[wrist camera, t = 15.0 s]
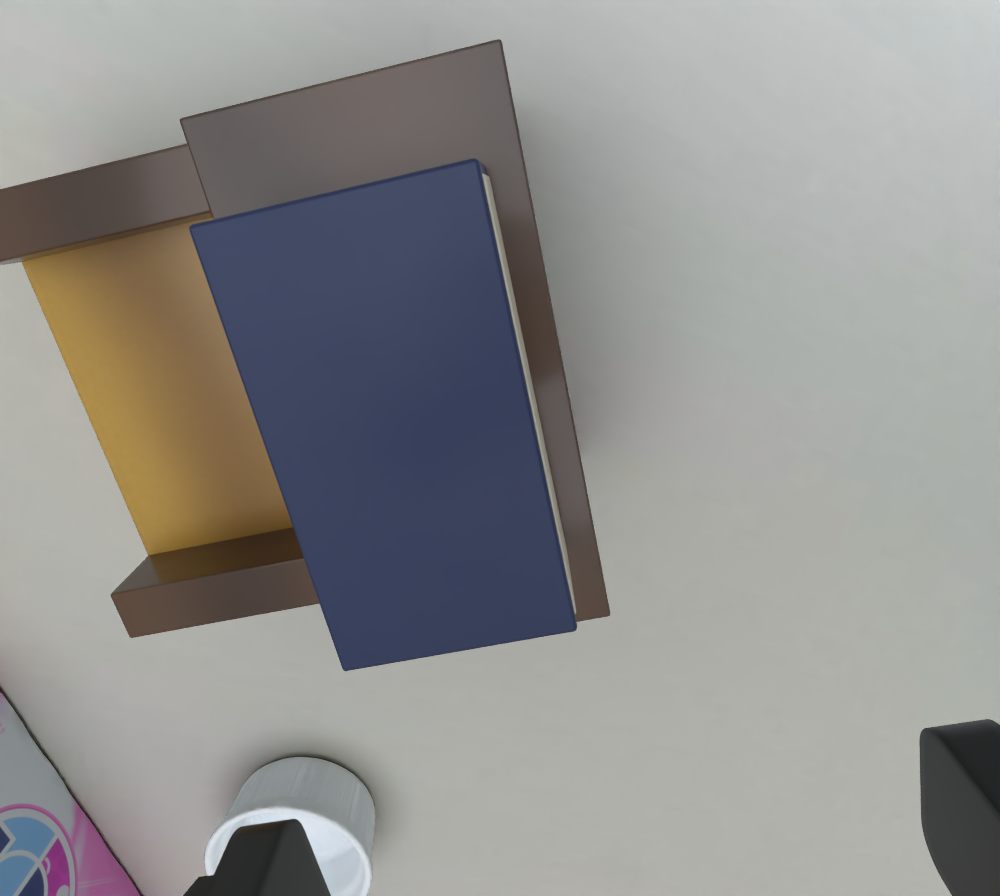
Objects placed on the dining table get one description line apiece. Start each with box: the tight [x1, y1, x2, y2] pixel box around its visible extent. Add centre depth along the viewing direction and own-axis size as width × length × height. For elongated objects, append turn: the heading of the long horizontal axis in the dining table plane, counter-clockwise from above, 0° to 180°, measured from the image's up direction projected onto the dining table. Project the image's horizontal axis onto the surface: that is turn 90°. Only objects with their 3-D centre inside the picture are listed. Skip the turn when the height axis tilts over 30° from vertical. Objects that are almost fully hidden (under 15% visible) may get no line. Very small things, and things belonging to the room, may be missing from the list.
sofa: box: [0, 39, 610, 638], centre depth 26 cm, size 18×16×13 cm
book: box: [189, 158, 577, 671], centre depth 18 cm, size 6×11×4 cm, turn 12°
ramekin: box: [204, 757, 376, 896], centre depth 40 cm, size 9×9×4 cm
